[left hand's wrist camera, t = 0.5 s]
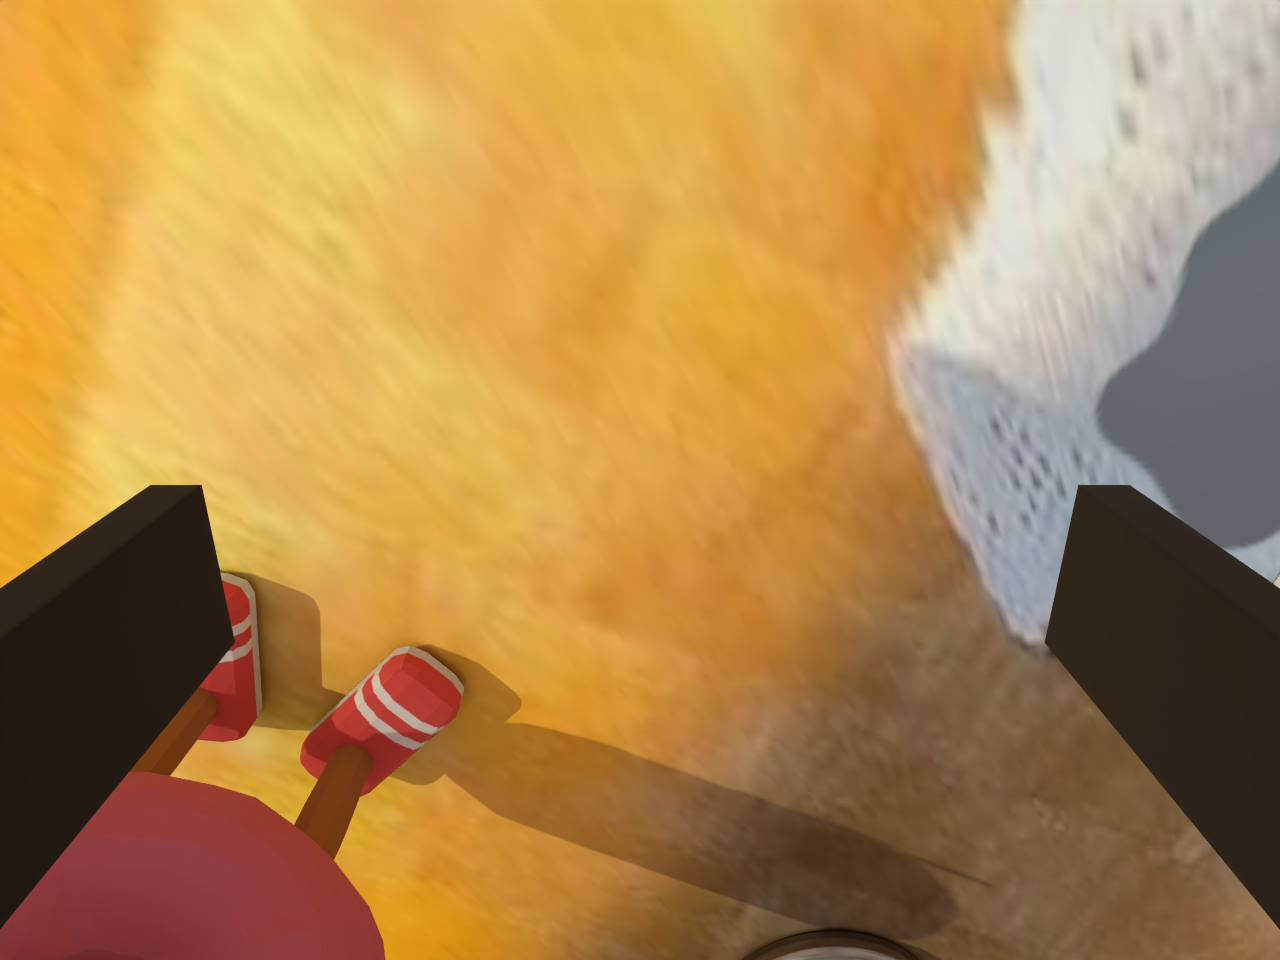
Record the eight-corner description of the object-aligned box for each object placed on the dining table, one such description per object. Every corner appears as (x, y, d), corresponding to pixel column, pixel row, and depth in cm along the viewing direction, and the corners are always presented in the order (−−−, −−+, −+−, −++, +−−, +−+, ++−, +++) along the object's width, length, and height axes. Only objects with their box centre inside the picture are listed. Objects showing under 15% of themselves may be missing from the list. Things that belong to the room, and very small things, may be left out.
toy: (517, 682, 46) (332, 1498, 18) (451, 810, 50) (210, 1660, 22) (136, 530, 43) (-812, 1253, 15) (93, 679, 46) (-741, 1492, 18)
